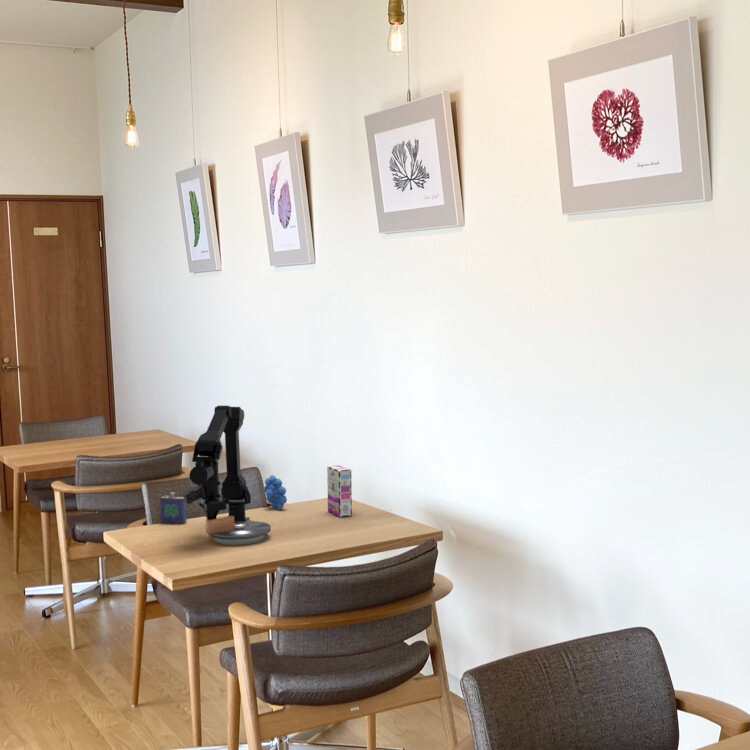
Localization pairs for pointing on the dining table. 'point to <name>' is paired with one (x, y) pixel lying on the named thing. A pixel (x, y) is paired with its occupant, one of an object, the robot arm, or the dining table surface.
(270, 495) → the grapes
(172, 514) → the flask
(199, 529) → the dining table surface
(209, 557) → the dining table surface
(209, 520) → the grey disc with hub
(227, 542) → the valve base
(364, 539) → the dining table surface
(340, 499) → the candy bar box
